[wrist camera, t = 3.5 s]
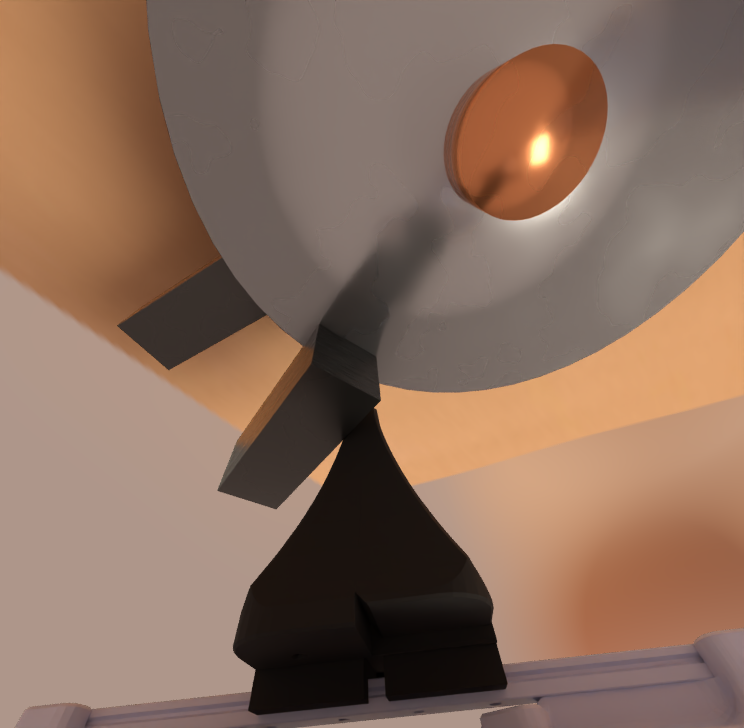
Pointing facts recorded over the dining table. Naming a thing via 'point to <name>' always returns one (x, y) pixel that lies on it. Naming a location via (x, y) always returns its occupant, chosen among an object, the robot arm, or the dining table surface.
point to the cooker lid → (447, 186)
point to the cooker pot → (192, 315)
